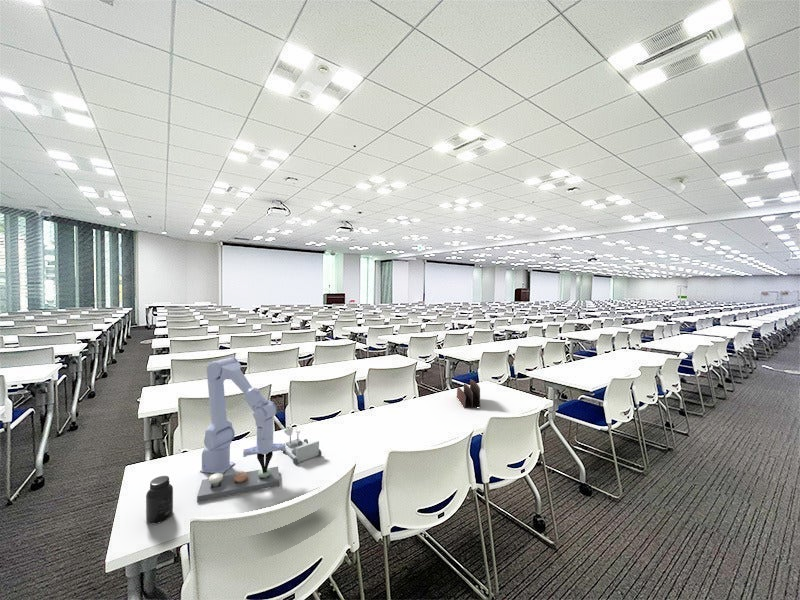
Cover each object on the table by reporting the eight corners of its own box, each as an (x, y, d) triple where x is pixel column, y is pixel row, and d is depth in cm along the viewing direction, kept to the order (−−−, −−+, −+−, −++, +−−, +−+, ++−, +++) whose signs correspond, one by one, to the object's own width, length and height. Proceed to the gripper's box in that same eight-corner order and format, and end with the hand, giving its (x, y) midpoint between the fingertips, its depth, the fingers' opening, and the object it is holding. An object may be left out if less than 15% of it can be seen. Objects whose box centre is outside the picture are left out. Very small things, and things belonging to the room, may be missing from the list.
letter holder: (470, 398, 223) (471, 377, 222) (480, 409, 203) (481, 386, 203) (456, 398, 222) (457, 377, 222) (464, 409, 203) (465, 386, 202)
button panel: (197, 502, 110) (197, 496, 110) (202, 485, 120) (202, 479, 119) (279, 485, 120) (279, 480, 120) (278, 471, 130) (278, 466, 130)
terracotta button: (233, 488, 117) (233, 480, 117) (234, 481, 121) (234, 473, 121) (247, 486, 119) (247, 477, 119) (247, 479, 123) (247, 471, 123)
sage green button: (258, 484, 120) (258, 475, 120) (258, 477, 124) (258, 469, 124) (270, 481, 122) (271, 473, 122) (270, 475, 126) (270, 467, 126)
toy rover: (278, 428, 147) (303, 421, 155) (278, 449, 147) (302, 442, 155) (296, 443, 134) (321, 435, 141) (296, 466, 134) (321, 457, 142)
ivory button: (208, 490, 114) (208, 481, 114) (209, 483, 118) (209, 474, 118) (222, 487, 116) (222, 478, 116) (223, 480, 120) (223, 472, 120)
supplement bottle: (140, 521, 101) (140, 483, 101) (163, 507, 107) (163, 471, 107) (155, 527, 99) (155, 488, 98) (178, 513, 105) (178, 476, 104)
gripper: (243, 443, 116) (242, 481, 116) (286, 437, 121) (285, 473, 122) (244, 435, 122) (243, 470, 123) (285, 429, 128) (284, 463, 129)
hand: (264, 471), depth 123 cm, fingers closed, pressing on sage green button
